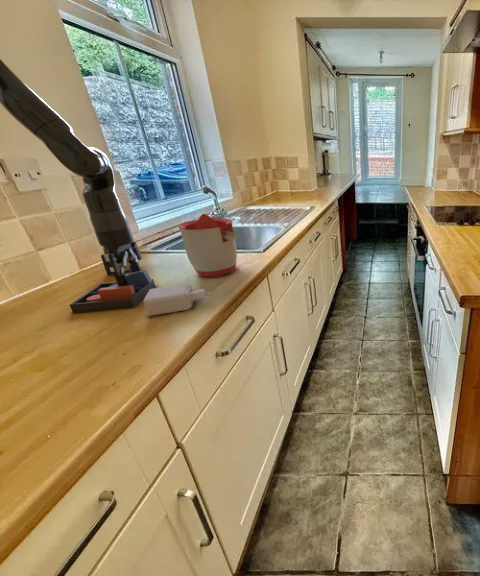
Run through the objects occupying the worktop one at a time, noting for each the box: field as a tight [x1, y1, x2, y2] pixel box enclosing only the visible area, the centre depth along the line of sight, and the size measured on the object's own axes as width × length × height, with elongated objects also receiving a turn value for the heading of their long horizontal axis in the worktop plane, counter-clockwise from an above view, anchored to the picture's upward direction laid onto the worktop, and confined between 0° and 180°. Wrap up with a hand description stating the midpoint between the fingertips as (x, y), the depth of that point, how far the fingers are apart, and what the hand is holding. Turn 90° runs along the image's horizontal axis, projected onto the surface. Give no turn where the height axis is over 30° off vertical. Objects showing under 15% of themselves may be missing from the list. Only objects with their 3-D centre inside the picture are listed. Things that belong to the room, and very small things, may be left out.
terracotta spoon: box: [87, 285, 135, 302], centre depth 87 cm, size 4×11×4 cm, turn 104°
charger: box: [143, 283, 214, 317], centre depth 86 cm, size 5×9×15 cm
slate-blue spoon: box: [109, 269, 152, 288], centre depth 93 cm, size 4×11×4 cm, turn 104°
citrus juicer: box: [177, 213, 239, 278], centre depth 106 cm, size 16×17×20 cm
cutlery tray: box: [69, 278, 156, 314], centre depth 90 cm, size 14×14×2 cm
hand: (131, 281), depth 93 cm, fingers open, 8 cm apart
